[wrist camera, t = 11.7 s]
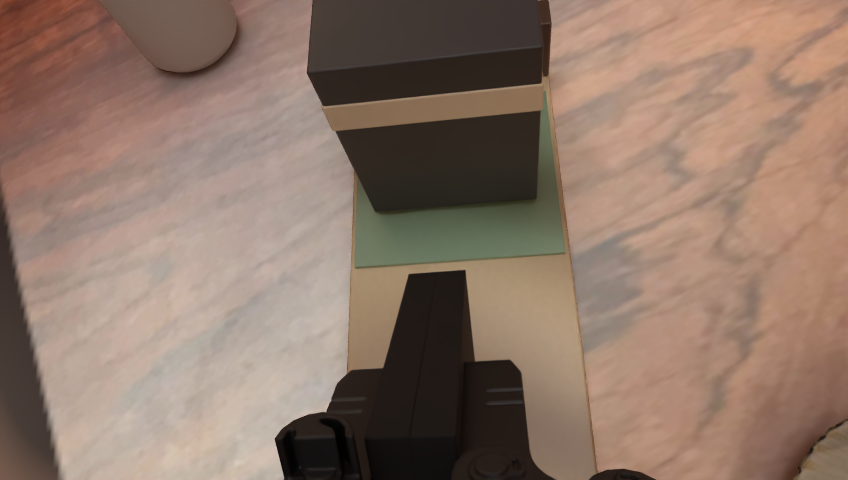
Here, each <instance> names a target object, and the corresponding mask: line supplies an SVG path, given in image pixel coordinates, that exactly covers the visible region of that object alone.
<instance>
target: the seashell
mask: <svg viewBox="0 0 848 480" xmlns="http://www.w3.org/2000/svg"><path fill="white" fill-rule="evenodd" d="M798 468H799V473H798V475H797V476H796V477H795V478H794V479H792V480H848V419H847V420H845V421H843V422H841V423H839V424H837V425H836V426H835V427H832V428H830V429H829V430H828V431H827V432H826V434H824V435H823V436H821V437H820V438H819V439H818V440H817V441H816V442H815V443H814V445H813V446H812V447H811V449H810V452H809V453H808V454H807V455H806V457H805V458H804V460H803V461H802V463H801V464H800V466H799V467H798Z"/></svg>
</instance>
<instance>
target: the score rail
mask: <svg viewBox="0 0 848 480" xmlns="http://www.w3.org/2000/svg"><path fill="white" fill-rule="evenodd" d="M538 5H539V13H540V21H541V29H542V38H543V46H544V48H543V80H544V94H543V108H542V110H541V117H540V140H539V163H538V186H537V198H536V199H528V200H516V201H504V202H492V203H480V204H467V205H455V206H443V207H431V208H419V209H407V210H394V211H382V212H375V211H374V209H373V207H372V205H371V203H370V201H369V199H368V197H367V195H366V193H365V191H364V188H363V186H362V184H361V182H360V180H359V178H358V176H357V174H356V172H355V170H354V196H353V224H352V252H351V279H350V307H349V334H348V362H347V374H348V373H349V372H350V371H351V370H357V369H375V368H383V367H384V363H385V359H386V356H387V352H388V348H389V345H390V341H391V337H392V334H393V330H394V326H395V323H396V319H397V315H398V312H399V308H400V304H401V301H402V297H403V293H404V290H405V286H406V282H407V279H408V275H409V274H415V273H428V272H442V271H455V270H466V279H467V289H468V299H469V308H470V318H471V327H472V337H473V347H474V356H475V361H491V360H509V359H510V360H511V361H512V362H513V363H514V364H515V365H516V367H517V368H518V369H519V370H520V371H521V373H522V382H523V391H524V401H525V410H526V419H527V428H528V438H529V447H530V453H531V456H532V460H533V461H534V462H535V464H536V465H537V467H538V468H539V469H540V470H542V471H543V472H544V473H545V474H547V475H549V476H550V477H552V478H554V479H556V480H589V479H590V478H591V477H592V476H593V475H595V474H598V471H597V463H596V455H595V447H594V439H593V431H592V423H591V415H590V407H589V399H588V391H587V383H586V375H585V367H584V359H583V351H582V343H581V335H580V327H579V319H578V311H577V303H576V294H575V286H574V278H573V270H572V262H571V254H570V246H569V238H568V230H567V222H566V214H565V206H564V198H563V190H562V182H561V174H560V166H559V158H558V150H557V142H556V134H555V126H554V118H553V110H552V102H551V93H550V85H549V77H548V75H549V59H550V42H551V24H552V23H551V15H550V8H549V1H548V0H540V1H538Z"/></svg>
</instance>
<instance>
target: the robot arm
mask: <svg viewBox="0 0 848 480" xmlns="http://www.w3.org/2000/svg"><path fill="white" fill-rule="evenodd" d="M275 442H276V446H277V450H278V454H279V458H280V462H281V466H282V470H283V474H284V478H285V479H284V480H556V479H554V478H552V477H550V476H549V475H547V474H545V473H544V472H543V471H542V470H540V469H539V468H538V467H537V465H536V464H535V462H534V461H533V460H532V456H531V453H530V447H529V438H528V428H527V419H526V410H525V401H524V391H523V382H522V373H521V371H520V370H519V369H518V368H517V367H516V365H515V364H514V363H513V362H512V361H511V360H510V359H509V360H491V361H475V356H474V347H473V337H472V327H471V318H470V308H469V299H468V289H467V279H466V270H455V271H442V272H428V273H415V274H409V275H408V279H407V282H406V286H405V290H404V293H403V297H402V301H401V304H400V308H399V312H398V315H397V319H396V323H395V326H394V330H393V334H392V337H391V341H390V345H389V348H388V352H387V356H386V359H385V363H384V367H383V368H375V369H357V370H351V371H350V372H349V373H348V374H347V375H346V376H345V377H343V378H342V379H341V380H340V381H339V382H338V383H337V385H336V388H335V391H334V393H333V396H332V399H331V402H330V404H329V406H328V409H327V412H321V413H315V414H309V415H306V416H304V417H301V418H299V419H296V420H294V421H292V422H291V423H290V424H288V425H287V426H285V427H284V428H283V429H282V430H281V431H280V432H279V434H278V435H277V436H276V438H275ZM589 480H655V479H653V478H651V477H649V476H647V475H645V474H643V473H641V472H637V471H632V470H627V469H614V470H606V471H603V472H600V473H598V474H595V475H593V476H592V477H591V478H590V479H589Z"/></svg>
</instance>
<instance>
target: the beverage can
mask: <svg viewBox="0 0 848 480" xmlns="http://www.w3.org/2000/svg"><path fill="white" fill-rule="evenodd" d="M98 1H99V2H100V3H101V4H102V5H103V7H104V8H105V9H106V10H107V11H108V13H109V14H110V15H111V16H112V17H113V19H114V20H115V21H116V22H117V23H118V25H119V26H120V27H121V28H122V30H123V31H124V32H125V33H126V34H127V36H128V37H129V38H130V39H131V40H132V42H133V43H134V44H135V45H136V46H137V48H138V49H139V50H140V51H141V52H142V54H143V55H144V56H145V57H146V58H147V60H149V61H150V62H151V63H152V64H153V65H154V66H156V67H158V68H161V69H163V70H165V71H173V72H182V73H184V72H193V71H197V70H200V69H203V68H206V67H207V66H209V65H211V64H213V63H215V62H216V61H217V60H218V59H219V58H221V57H222V56H223V55H224V54H225V52H226V51H227V50H228V48H229V47H230V45H231V43H232V41H233V39H234V36H235V33H236V27H237V18H236V15H235V12H234V10H233V8H232V6H231V4H230V3H229V1H228V0H98Z"/></svg>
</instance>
